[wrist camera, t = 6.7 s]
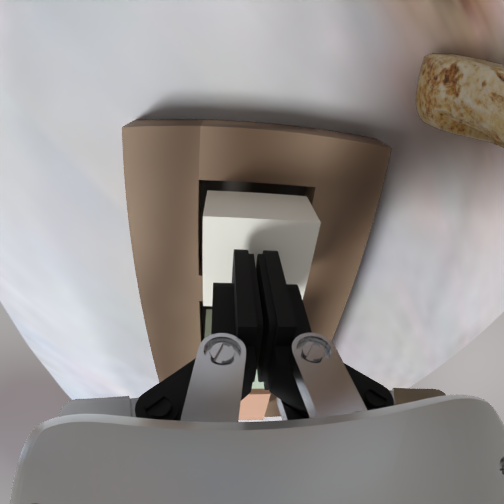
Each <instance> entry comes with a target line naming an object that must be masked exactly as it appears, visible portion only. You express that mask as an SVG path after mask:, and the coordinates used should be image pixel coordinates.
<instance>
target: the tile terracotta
mask: <svg viewBox="0 0 504 504" xmlns="http://www.w3.org/2000/svg"><path fill="white" fill-rule="evenodd" d="M270 395H271V393H270V392H269V390H264V389H251V392H250V393H249V394H248V395H247V396H246V397H245V398H244V399H243V400H241V403H240V411H239V420H263V419H264V416H265V412H266V409H267V405H268V402H269V398H270Z"/></svg>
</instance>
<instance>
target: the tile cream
mask: <svg viewBox="0 0 504 504" xmlns="http://www.w3.org/2000/svg"><path fill="white" fill-rule="evenodd" d="M320 224H321V222H320V220H319V218H318V216H317V214H316V213H315V211H314V209H313V207H312V205H311V203H310V201H309V200H308V198H307V196H297V195H283V194H269V193H252V192H234V191H210V190H207V195H206V200H205V206H204V212H203V243H202V259H203V306H212V299H213V283H232V268H233V253H234V249H240V250H248V251H249V254H254V259H255V266H256V262H257V255H258V254H262V253H263V250H269V251H278V253H279V257H280V261H281V265H282V268H283V272H284V276H285V280H286V284H297V285H298V287H299V290H300V293H301V297H302V300H303V296H304V292H305V288H306V284H307V280H308V276H309V272H310V268H311V264H312V259H313V255H314V251H315V246H316V242H317V237H318V233H319V228H320Z"/></svg>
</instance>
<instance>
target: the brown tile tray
mask: <svg viewBox="0 0 504 504" xmlns="http://www.w3.org/2000/svg"><path fill="white" fill-rule="evenodd" d="M122 140H123V161H124V176H125V189H126V200H127V210H128V219H129V228H130V236H131V243H132V250H133V257H134V264H135V270H136V276H137V282H138V288H139V294H140V299H141V304H142V309H143V314H144V319H145V324H146V329H147V333H148V338H149V342H150V346H151V351H152V355H153V359H154V363H155V367H156V371H157V375H158V378H159V382H161V381H163V380H164V379H166V378H167V377H169V376H170V375H172V374H173V373H175V372H176V371H178V370H179V369H181V368H182V367H183V366H185V365H186V364H188V363H189V362H191V361H192V360H193V359H195V358H196V356H197V352H198V348H199V345H200V343H201V342H202V341H203V340H204V337H205V321H206V309H212V306H203V259H202V243H203V212H204V206H205V200H206V195H207V190H210V191H234V192H252V193H269V194H283V195H297V196H307V198H308V200H309V201H310V203H311V205H312V207H313V209H314V211H315V213H316V214H317V216H318V218H319V220H320V222H321V224H320V228H319V233H318V237H317V242H316V246H315V251H314V255H313V259H312V264H311V268H310V272H309V276H308V280H307V284H306V288H305V292H304V296H303V303H304V307H305V310H306V314H307V317H308V321H309V324H310V328H311V331H312V333H317V334H321V335H323V336H325V337H327V338H328V339H329V340H331V342H332V339H333V337H334V334H335V332H336V329H337V326H338V324H339V321H340V319H341V316H342V313H343V311H344V308H345V305H346V303H347V300H348V297H349V294H350V292H351V289H352V286H353V283H354V280H355V277H356V274H357V272H358V269H359V266H360V262H361V259H362V256H363V253H364V250H365V247H366V244H367V240H368V237H369V234H370V231H371V227H372V224H373V220H374V217H375V213H376V210H377V206H378V203H379V199H380V195H381V191H382V187H383V184H384V180H385V176H386V171H387V167H388V163H389V159H390V154H391V150H392V148H391V147H389V146H387V145H386V144H384V143H382V142H381V141H379V140H377V139H374V138H369V137H364V136H358V135H353V134H347V133H341V132H334V131H328V130H321V129H314V128H306V127H298V126H290V125H280V124H270V123H258V122H244V121H227V120H197V119H160V120H134V121H132V122H130V123H129V124H127V125H125V126H123V127H122ZM270 393H271V392H270ZM276 398H277V397H276V396H275V395H273V394H272V393H271V395H270V398H269V402H268V405H267V409H266V412H265V416H264V417H275V416H281V414H280V411H279V408H278V405H277V399H276Z"/></svg>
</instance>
